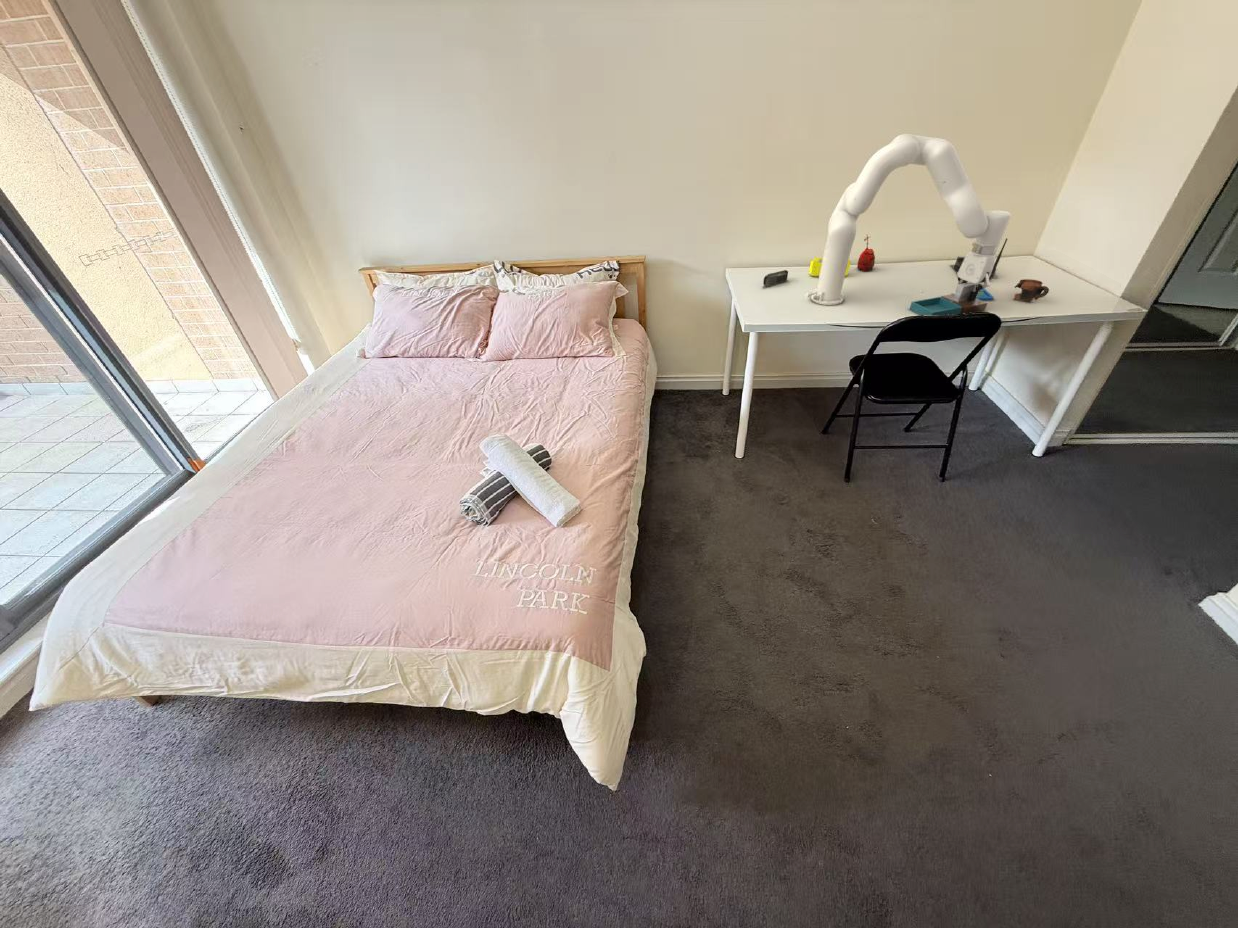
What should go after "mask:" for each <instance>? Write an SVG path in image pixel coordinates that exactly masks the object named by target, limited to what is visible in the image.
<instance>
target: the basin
mask: <svg viewBox="0 0 1238 928" xmlns="http://www.w3.org/2000/svg"><path fill="white" fill-rule="evenodd" d="M909 305H910V306H909V308H908V310H910V311H912V312H914V313H916V314H917V315H919V316H921V315H948V314H949V315H952V314H960V313H961V310H962V308H963V307H961V306H959V305H957V304H955V303H953V302H950V301H949V300H947V299H944V298H942V297H941V296H937V297H931V298H925V299H920V300H914V301H911V302H910V304H909ZM960 315H961V314H960Z"/></svg>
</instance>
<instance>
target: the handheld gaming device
mask: <svg viewBox="0 0 1238 928" xmlns="http://www.w3.org/2000/svg"><path fill="white" fill-rule="evenodd" d="M977 299H980V300H982V301H993V300H994V299H995V297H994V296H993V295H992V294H991V293H990V292H989V291H987V289H986V288H984V289H982V290H981V291H979V293H978V297H977Z"/></svg>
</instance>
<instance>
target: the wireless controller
mask: <svg viewBox="0 0 1238 928" xmlns="http://www.w3.org/2000/svg"><path fill="white" fill-rule="evenodd" d="M1007 241H1008V237H1007V238H1005V240H1004V241H1003V245H1002V247H1001V249H1000V251H999V253H998V254H997V256H996V259H995V263H994V266H993V269H992V272H991V275H990V277H989V281H991V280H992V279H997V278H998V277H997V276H996V275H995V274H996V271H997V267H998V264H999V263H1000V259H1001V257H1002V254H1003V251H1004V248H1005V246H1006V244H1007ZM965 257H966V256H957V258H956V260H955V263H954V264H951V265H950V267H951V268H952V269H953V270H954V272H955V273H957V272H958V271H959V269H960V267H961V265H962V263H963V261H964V259H965Z"/></svg>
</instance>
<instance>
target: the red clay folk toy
mask: <svg viewBox="0 0 1238 928" xmlns="http://www.w3.org/2000/svg"><path fill="white" fill-rule="evenodd" d="M869 238H871V236H869V235H868V234H866V237H864V239H863V241H864V242H866V248H865V249H864V250H863V251H862V252H861V254H860V255H859V257H858V260H857V267H856V268H857V269H858V271H861V272H863V273H865V272H870V271H872V270H873V269H874V267H875V264H876V263H875V262H876V255H875V250H874V249H873V248H869Z"/></svg>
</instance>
